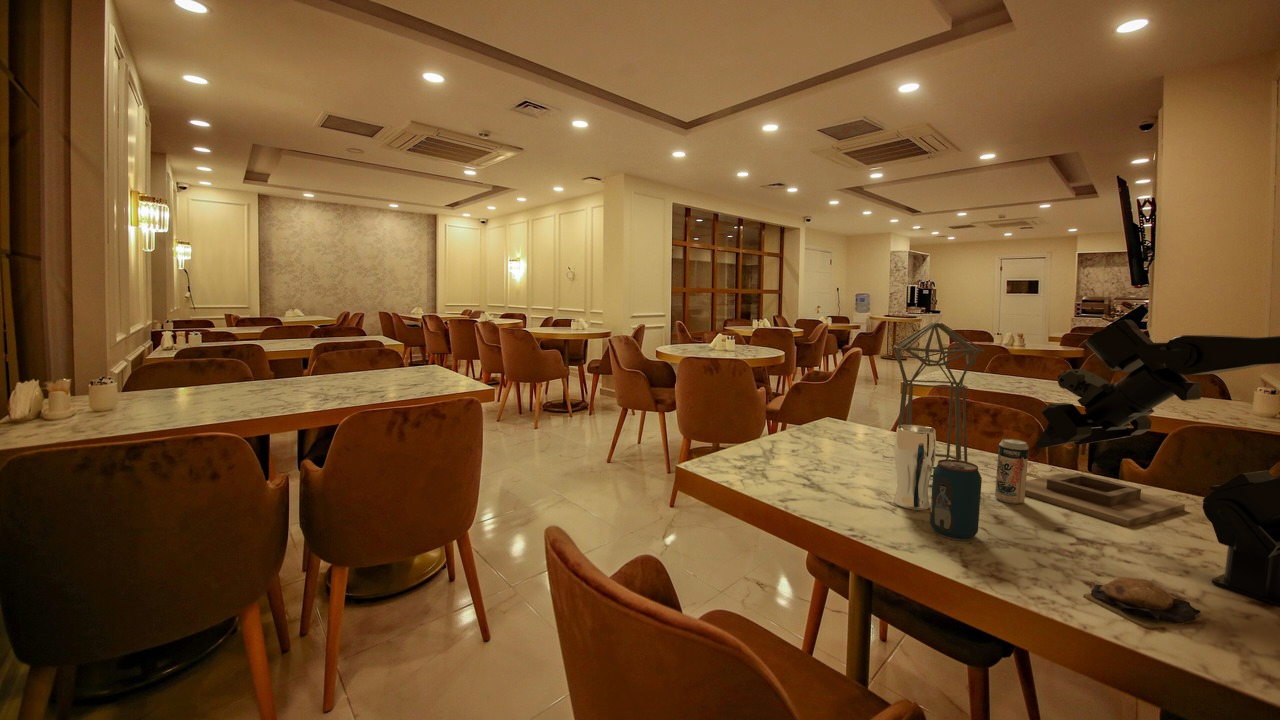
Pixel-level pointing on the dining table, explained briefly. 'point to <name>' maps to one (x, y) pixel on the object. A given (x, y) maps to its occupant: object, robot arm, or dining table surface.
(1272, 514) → the robot arm
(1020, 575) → the dining table surface
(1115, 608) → the bread roll
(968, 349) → the geometric lantern
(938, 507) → the soda can
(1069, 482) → the brown square frame
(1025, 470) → the beer can
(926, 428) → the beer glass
